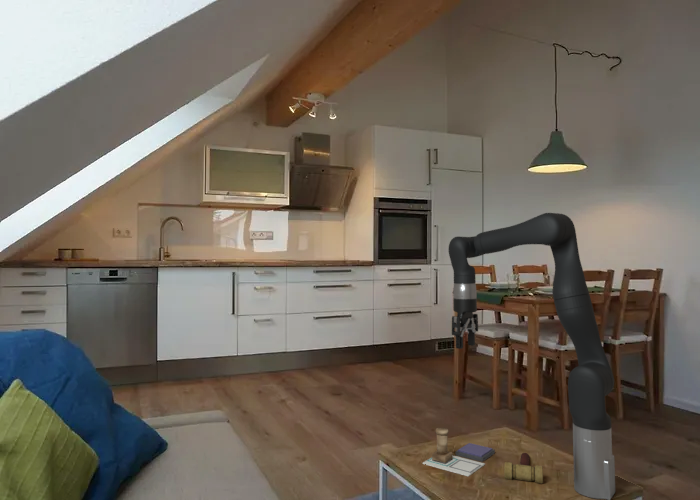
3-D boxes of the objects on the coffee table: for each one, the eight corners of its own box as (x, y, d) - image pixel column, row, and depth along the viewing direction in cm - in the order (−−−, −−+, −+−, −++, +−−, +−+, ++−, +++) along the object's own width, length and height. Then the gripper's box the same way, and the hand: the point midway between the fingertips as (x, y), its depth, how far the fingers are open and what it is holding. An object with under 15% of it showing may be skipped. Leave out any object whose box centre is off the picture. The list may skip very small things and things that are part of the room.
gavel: (508, 444, 160) (542, 448, 156) (509, 459, 159) (542, 463, 156) (504, 464, 140) (542, 469, 137) (504, 481, 140) (543, 486, 136)
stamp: (452, 459, 154) (452, 429, 154) (445, 464, 151) (444, 433, 151) (439, 456, 157) (439, 426, 157) (432, 460, 153) (431, 430, 154)
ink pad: (494, 453, 160) (494, 448, 160) (482, 461, 153) (482, 456, 153) (468, 447, 166) (468, 442, 166) (455, 455, 159) (455, 449, 159)
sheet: (485, 464, 151) (484, 463, 151) (468, 476, 142) (468, 475, 142) (440, 453, 160) (440, 452, 160) (422, 463, 152) (422, 462, 152)
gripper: (465, 298, 158) (466, 350, 157) (484, 296, 169) (485, 345, 168) (444, 298, 162) (444, 348, 162) (464, 295, 173) (465, 343, 173)
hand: (465, 346), depth 165 cm, fingers open, 8 cm apart
